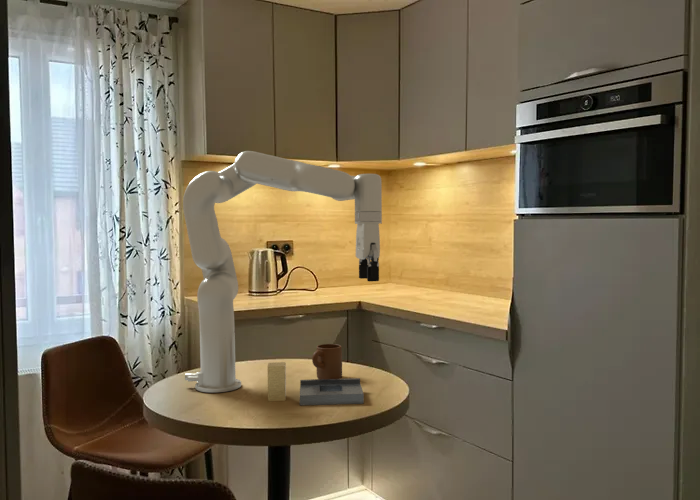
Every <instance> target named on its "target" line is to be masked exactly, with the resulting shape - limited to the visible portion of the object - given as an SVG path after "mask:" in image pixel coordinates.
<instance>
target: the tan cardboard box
mask: <svg viewBox="0 0 700 500" xmlns="http://www.w3.org/2000/svg"><path fill="white" fill-rule="evenodd" d="M286 368H287V367H286V361H285V362H283V361H281V362H280V361H279V362H277V361H276V362H268V364H267V401H268V402H283V401H284V402H285V401H286V398H287V379H286V378H287V376H286V375H287V373H286Z"/></svg>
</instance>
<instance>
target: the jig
mask: <svg viewBox="0 0 700 500" xmlns="http://www.w3.org/2000/svg"><path fill="white" fill-rule="evenodd" d="M299 381H300V386H299V406H326V405H357V404H358V405H359V404H361V405H362V404H364V397H365V396H364V395H365V394H364V390H363V388H362V385H361V378H359V377H354V378H353V377H352V378H340V379H318V378H316V379H299Z"/></svg>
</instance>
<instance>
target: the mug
mask: <svg viewBox="0 0 700 500" xmlns="http://www.w3.org/2000/svg"><path fill="white" fill-rule="evenodd" d="M342 348H343V347H342V345H340V344H336V343H322V344H318V345H316V350H315V351H314V352H313V354H312V356H311V358H312V359H311V360H312V365H313V366H314V367H315V368H316V379H342V377H343V349H342Z"/></svg>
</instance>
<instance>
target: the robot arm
mask: <svg viewBox="0 0 700 500" xmlns="http://www.w3.org/2000/svg"><path fill="white" fill-rule="evenodd" d="M255 185H260V186H261V185H262V186H266V187H271V188H275V189H279V190H283V191H288V192H302V193H303V192H304V193H309V194H314V195H319V196H323V197H327V198H331V199H332V200H335V201H338V202H346V201H351V200H354V224H355V225H356V232H355V234H356V235H355V257H356V258H357V259H358V278H359V279H360V280H361V279H367V280H366V281H367V282H379V281H380V262H379V261H380V256H381V255H380V254H381V244H380V243H381V242H380V241H381V240H380V236H381V235H380V226H379V225H380V224H382V221H383V220H382V219H383V217H382V216H383V215H382V213H383V212H382V211H383V210H382V207H383V206H382V204H383V203H382V201H383V200H382V196H383V195H382V192H383V191H382V188H383V187H382V177H381V176H380V175H379V174H377V173H360V174H357V175H350V174H349V173H347V172H346V171H341V170H338V169H334V168H328V167H324V166H320V165H319V166H318V165H315V164H310V163H306V162H303V161H302V162H301V161H299V160H293V159H290V158H289V159H288V158H284V157H280V156H275V155H271V154H266V153H263V152H258V151H252V150H245V151H241V152H240V153H239V154H238V155H237V156H236V157H235V159H234V162H233V164H231V165H229V166H228V167H225V168H224V169H222V170H220V171H215V170H207V171H203V172H201V173H199V174H198V175H196V176H195V177H194V178H193V179H192V180H191V181H190V182H189V184H188V185H187V186H186V188H185V191H184V194H183V196H182V210H183V215H184V221H185V226H186V230H187V237H188V242H189V246H190V251H191V258H192V260H193V262H194V264H195V265H196V266H197V267H198V268H199V269H200V270H201V273H202V276H203V279H202V280H201V282H200V284H199V285H198V288H197V296H196V297H197V298H196V299H197V307H198V319H199V320H198V321H199V347H200V348H199V353H200V354H199V355H200V371H196V373H192V372H190V373H187V372H186V373H185V374H184V379H185V381H187V382H196V383H195V388H194V389H195V390H197V391H198V392H202V393H213V394H214V393H226V392H231V391H235V390H237V389H239V388H241V386H242V381H241V380H240V379H238V378H236V339H235V338H236V337H235V335H236V333H235V330H236V329H235V310H234V300H235V299H236V297H237V295H238V293H239V281H238V277H237V272H236V267H235V263H234V258H233V254H232V251H231V250H232V249H231V247H230V245H229V243H228V242H227V241H226V240H225V239H224V238H223V237H221V233H220V229H219V223H218V218H217V215H216V211H215V204H223V203H226V202H228V201H229V200H231V199H233V198H235V197H237V196H239V195H240V194H242V193H243V192H246V191H248V190H249V189H250V188H253V187H254V186H255Z"/></svg>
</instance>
